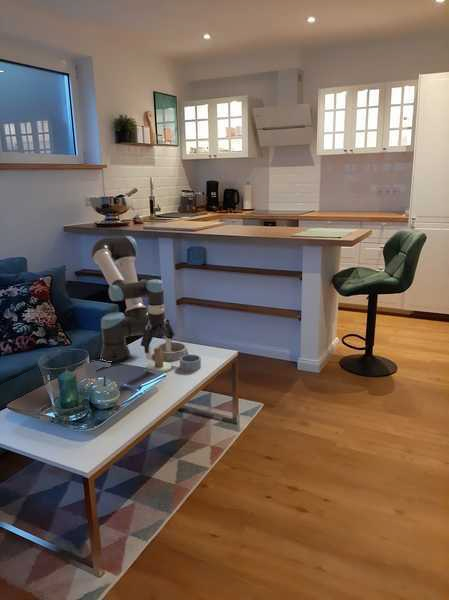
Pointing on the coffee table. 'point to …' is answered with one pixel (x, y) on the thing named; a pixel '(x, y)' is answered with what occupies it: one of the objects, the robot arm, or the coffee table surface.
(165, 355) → the dog bowl
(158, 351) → the cover
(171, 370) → the mat
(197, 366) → the bowl
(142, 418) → the coffee table surface
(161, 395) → the coffee table surface
